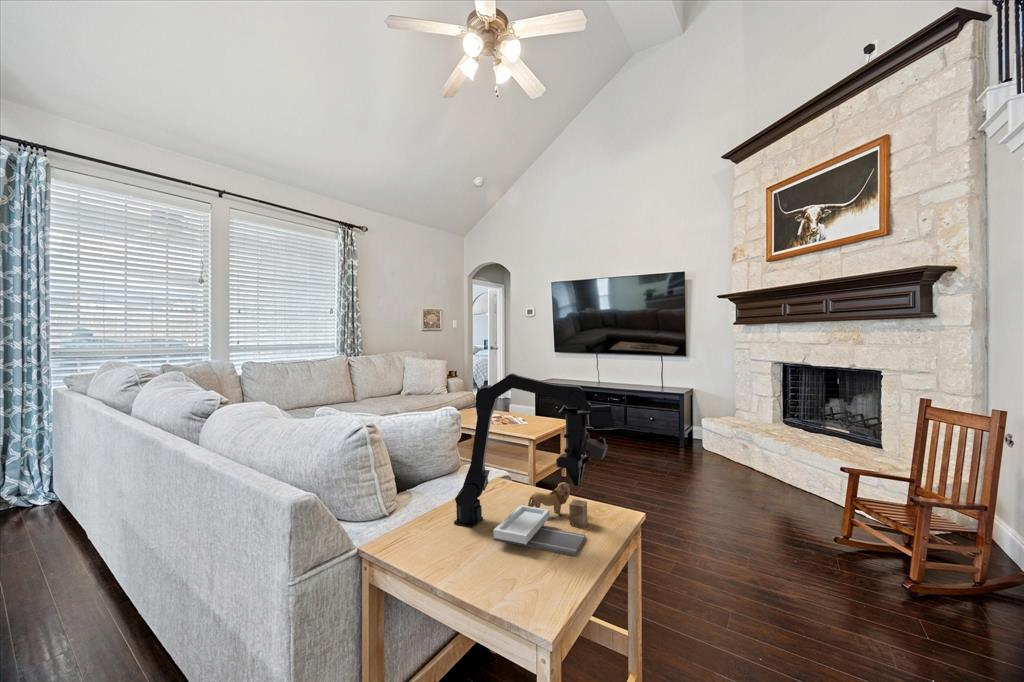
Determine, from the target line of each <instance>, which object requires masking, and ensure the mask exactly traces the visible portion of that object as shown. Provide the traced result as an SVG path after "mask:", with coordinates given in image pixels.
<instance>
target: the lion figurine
mask: <svg viewBox="0 0 1024 682" xmlns="http://www.w3.org/2000/svg"><path fill="white" fill-rule="evenodd" d="M570 493H571V488H570V484H569V483H567V482H564V481H563V482H559V484H557V487H556V488H554V489H553V490H552V491H551V492H548V493H547V492H546V493H545V492H544V493H543V492H540V491H538V492H535V493H532V494H531V495H530V497H529V499H528V503H527V506H529V507H535V508H541V506H542V505H543V506H546V507H552V506H553V512H554V513H555V512H557V513H556V514H557V516H558V515H562V516H563V513H561V509H562V505H565V504H566V503H567V501H568V499H569V498H570Z"/></svg>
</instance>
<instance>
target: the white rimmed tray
mask: <svg viewBox="0 0 1024 682" xmlns="http://www.w3.org/2000/svg"><path fill="white" fill-rule="evenodd" d="M550 514H551V511H550V509H546V508H541V507H540V508H536V507H535V506H534V507H529V506H528V505H522V504H521V505H519V506H518V507H517V508H516V509H514V511H512V512H511V513H510V514H509V515H508V516H507V517H506V518H505V519H504V520H503V521H501V522H500V524H498V525H497V526H496V527H495V528H494V529H493V539H494V538H498V539H503V540H508V541H513V542H517V543H522V544H527V543H529V542H530V541H531V539H532V537H533V536H534V535H535V533H536V532H537V531H538V530H539V529H540V528H541V527H544V526H545V523H546V522H547V521H548V520H549V519H550V517H551V516H550Z"/></svg>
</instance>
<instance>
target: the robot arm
mask: <svg viewBox="0 0 1024 682" xmlns="http://www.w3.org/2000/svg"><path fill="white" fill-rule="evenodd" d="M512 389H514V390H515V389H516V390H520V391H523V392H528V393H531V394H537V395H541V396H545V397H549V398H552V399H554V400H557V401H559V402H561V403H562V404H564V405H563V406H562V408H561V409H560V410H558V414H559V415H560V416H565V433H564V434H563V439H565V440H566V441H565V444H566V447H565V448H564V453H562V454H561V455H560V456H558V457H557V458H556V461H555V463H556V467H557V468H560V469H565V470H566V472H567V473H568V476H569V477H570V479H571V481H572V484H573V485H574V486H575V487H579V486H580V485H581V483H582V479H583V475H584V470H585V467H586V464H587V463H588V462H589V461H590V460H591V456H592V457H594V458H596V460H599V461H601V460H603V459H604V457H605V456H606V453H607V450H608V447H609V446H608V444H607V442H606V441H607V440H606V438H604V437H602V436H600V437H599V438H598V439H597V440H596V438H594V439H592V438H591V437H590V433H589V432H587V424H588V427H590V428H592V430H593V431H594V430H595V431H597V430H598V431H601V430H603V431H605V430H614V426H615V425H614V420H615V419H614V417H613V412H612V411H613V410H612V406H611V405H610V404H607V405H606V404H605V405H592V404H591V402H589V401H588V400H587V398H586V393H585V391H584V389H583V387H581V386H580V385H578V384H570V383H569V384H567V383H565V384H564V383H551V382H547V381H543V380H539V379H535V378H530V377H526V376H523V375H518V374H516V373H509V374H508V375H506V376H505V377H504V378H503V379H500V380H499V381H498V382H496V383H494V384H493V385H490V384H488V385H485V386H482V387H481V388H480V389H478V390H477V392H476V394H475V411H476V424H475V425H476V426H475V430H474V431H475V432H474V438H473V439H474V440H473V443H472V444H473V445H472V452H471V458H470V459H471V460H470V465H469V468H468V470H467V472H466V475H465V479H464V482H463V485H462V487H461V489H460V490H459V491H458V493H457V495H456V496H455V498H454V501H455V505H456V506H455V507H456V519H455V520H454V521H453V525H459V526H464V527H469V528H474V527H475V526H476V525H478V524H479V523H480V522H481V521H482V520H483V519H484V516H483V515H482V514H483V512H482V510H483V509H482V508H483V507H482V505H481V499H479V498H480V497H481V496H482V494H483V492H485V491H486V488H487V487H488V485H489V475H490V471H491V470H490V469H486V464H485V462H486V457H487V449H488V444H489V443H488V442H489V435H490V430H491V429H490V428H491V421H492V416H493V413H494V411H495V408H496V406H497V402H498V399H499V397H501V396H503V395H504V394H505V393H507V392H508V391H511V390H512ZM566 405H567V406H570V407H567V406H566ZM578 408H579V409H581V410H579V409H578ZM586 415H587V416H586ZM587 454H588V455H589V456H587Z"/></svg>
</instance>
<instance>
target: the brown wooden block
mask: <svg viewBox="0 0 1024 682" xmlns="http://www.w3.org/2000/svg"><path fill="white" fill-rule="evenodd" d="M568 504H569V507H568V508H569V510H568V511H569V526H570V525H571V527H574V526H577V527H576V528H580V527H583V528H582V529H584V528H585V527H586V525H587V524H588V501H586V500H580V499H572V500H571V502H570V503H568ZM586 523H587V524H586ZM584 526H585V527H584Z"/></svg>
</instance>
